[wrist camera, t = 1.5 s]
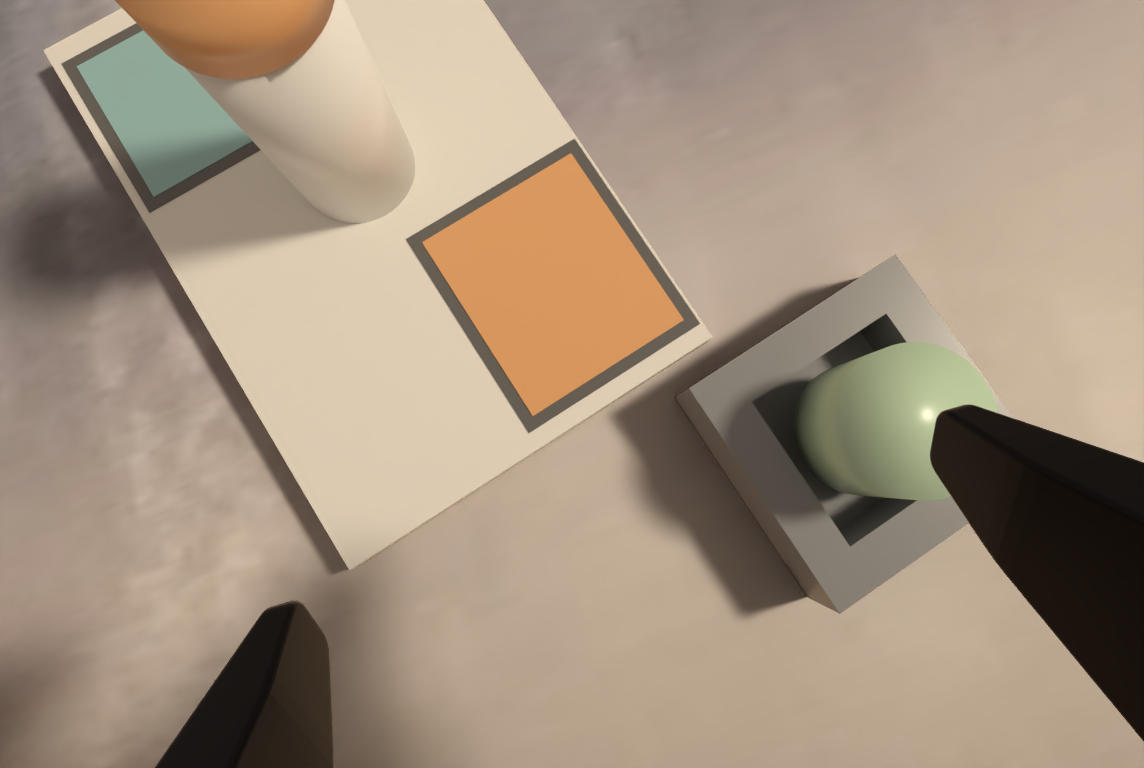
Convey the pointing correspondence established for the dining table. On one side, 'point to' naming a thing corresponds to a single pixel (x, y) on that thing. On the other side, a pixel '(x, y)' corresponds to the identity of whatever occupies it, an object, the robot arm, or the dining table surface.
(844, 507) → the button housing
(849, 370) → the button
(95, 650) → the dining table surface
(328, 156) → the marker
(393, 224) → the colouring mat
